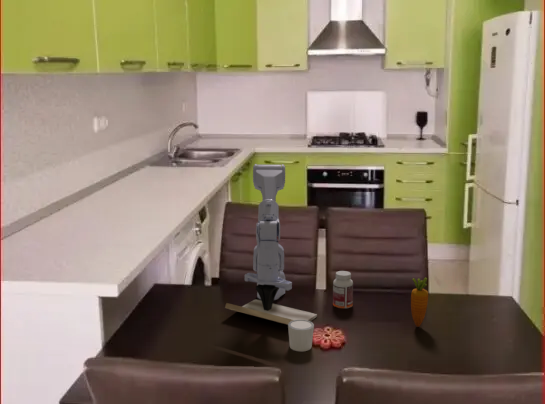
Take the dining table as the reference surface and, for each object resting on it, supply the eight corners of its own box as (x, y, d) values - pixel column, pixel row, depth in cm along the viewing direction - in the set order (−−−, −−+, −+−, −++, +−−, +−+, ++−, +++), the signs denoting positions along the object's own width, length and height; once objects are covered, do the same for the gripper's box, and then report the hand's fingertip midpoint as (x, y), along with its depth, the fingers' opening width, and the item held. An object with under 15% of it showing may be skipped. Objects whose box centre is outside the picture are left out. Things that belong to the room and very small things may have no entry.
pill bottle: (348, 302, 194) (349, 269, 192) (355, 309, 188) (356, 275, 186) (329, 304, 193) (330, 270, 190) (336, 311, 187) (337, 277, 184)
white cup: (299, 341, 166) (300, 317, 164) (319, 349, 161) (319, 324, 160) (282, 348, 161) (282, 324, 160) (301, 357, 156) (301, 332, 155)
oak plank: (239, 312, 185) (240, 307, 185) (302, 328, 173) (303, 323, 174) (224, 307, 178) (226, 302, 179) (289, 324, 167) (290, 319, 167)
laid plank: (255, 303, 192) (255, 299, 192) (316, 319, 181) (317, 314, 180) (240, 311, 186) (240, 307, 185) (303, 328, 174) (303, 323, 174)
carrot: (405, 327, 175) (408, 277, 172) (414, 322, 179) (417, 273, 176) (421, 332, 172) (424, 281, 169) (429, 326, 176) (433, 277, 173)
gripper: (238, 262, 169) (238, 308, 172) (282, 271, 162) (282, 319, 164) (252, 256, 175) (252, 300, 178) (296, 264, 167) (295, 311, 170)
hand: (267, 309), depth 172 cm, fingers closed
